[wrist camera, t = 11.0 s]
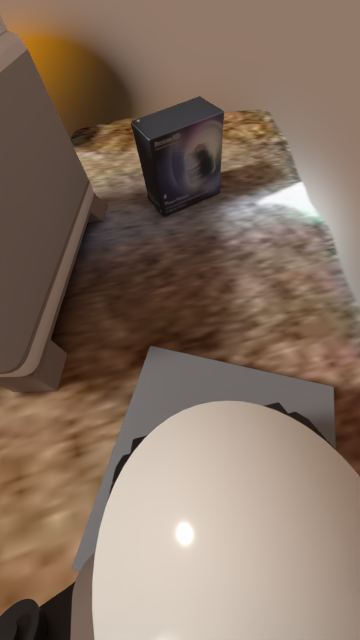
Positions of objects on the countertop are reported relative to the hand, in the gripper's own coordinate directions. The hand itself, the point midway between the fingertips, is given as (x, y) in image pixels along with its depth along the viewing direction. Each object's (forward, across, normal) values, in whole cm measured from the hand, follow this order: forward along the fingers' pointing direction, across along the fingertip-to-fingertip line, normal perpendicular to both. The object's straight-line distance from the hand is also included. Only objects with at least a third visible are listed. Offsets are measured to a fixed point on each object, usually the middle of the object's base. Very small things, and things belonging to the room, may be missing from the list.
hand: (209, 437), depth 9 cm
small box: (+32, -6, -17) cm, 37 cm away
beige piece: (+2, 0, +4) cm, 5 cm away
